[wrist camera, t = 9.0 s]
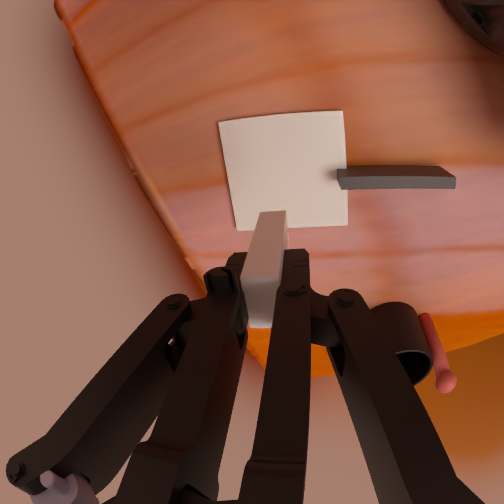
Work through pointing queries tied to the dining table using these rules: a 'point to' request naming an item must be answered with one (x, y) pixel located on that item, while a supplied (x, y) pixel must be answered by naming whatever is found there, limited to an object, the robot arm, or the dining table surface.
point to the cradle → (408, 179)
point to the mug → (405, 338)
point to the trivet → (286, 167)
